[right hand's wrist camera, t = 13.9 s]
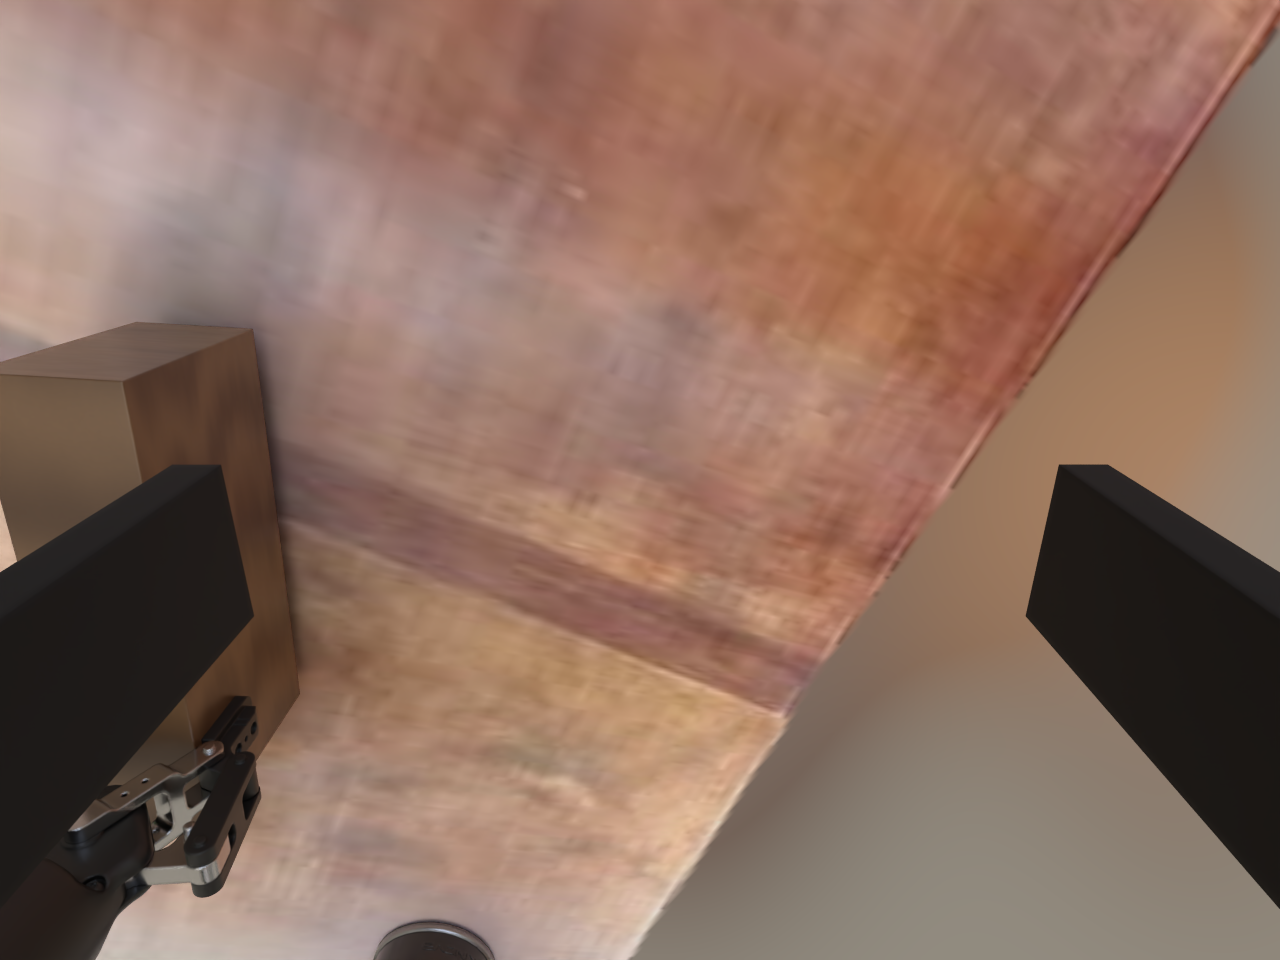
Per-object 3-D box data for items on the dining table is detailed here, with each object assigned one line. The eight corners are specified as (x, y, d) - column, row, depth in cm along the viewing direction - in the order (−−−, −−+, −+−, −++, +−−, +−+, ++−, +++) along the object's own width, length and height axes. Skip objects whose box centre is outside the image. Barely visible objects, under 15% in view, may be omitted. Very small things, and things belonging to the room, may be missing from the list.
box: (135, 321, 40) (-37, 372, 30) (253, 328, 40) (122, 381, 30) (203, 689, 48) (89, 825, 38) (300, 693, 49) (211, 830, 38)
